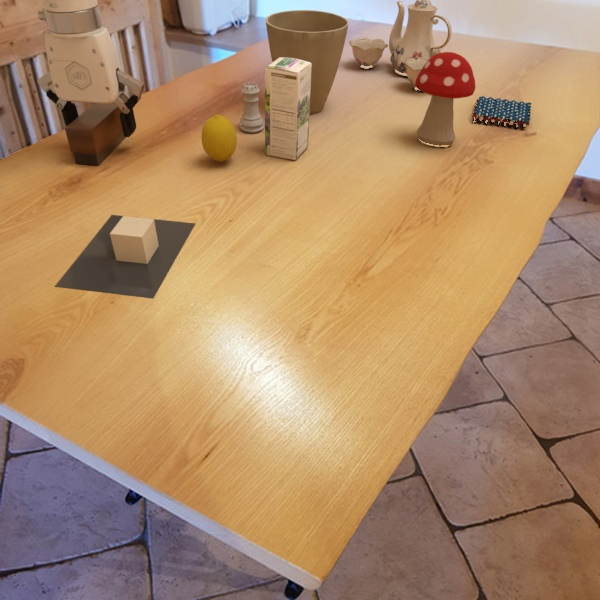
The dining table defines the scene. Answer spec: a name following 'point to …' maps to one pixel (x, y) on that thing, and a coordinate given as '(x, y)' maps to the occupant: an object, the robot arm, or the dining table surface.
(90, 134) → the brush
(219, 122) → the lemon
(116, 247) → the chalk block
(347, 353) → the dining table surface
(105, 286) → the tile
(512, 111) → the woven mat
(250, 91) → the rook chess piece
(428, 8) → the chinaware
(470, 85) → the decorative mushroom
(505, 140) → the dining table surface
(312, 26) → the plant pot
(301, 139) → the syrup box
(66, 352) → the dining table surface
